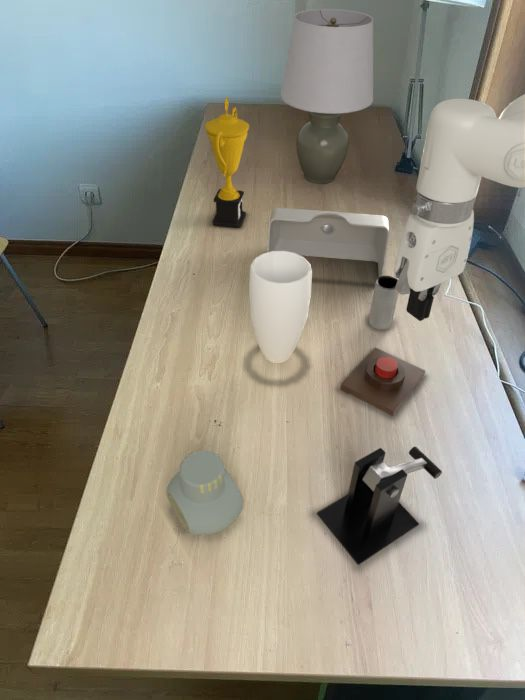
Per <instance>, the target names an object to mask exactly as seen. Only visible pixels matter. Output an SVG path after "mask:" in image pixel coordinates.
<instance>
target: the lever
mask: <svg viewBox="0 0 525 700" xmlns="http://www.w3.org/2000/svg"><path fill="white" fill-rule="evenodd" d="M408 454H409V456H410V457H411V458H412V459H413V460H409V461H406V462H403V463H400V464H396V465H394V466H393V465H392V466H388V465H387V464H386V463H385V462H384V461H383V463H380V464H376V465H373V466H370V467H369V469H368V471H367V472H366V474H365V476H364V478H363V481H364V482H365V483H366V484H367V485H368V486H369V487H370V488H371V489H372V491H374V490H375V487H376V485H377V484H378V483H380V482H382V481H383V480H385V479H387V478H388V477H390V476H392V475H393V474H395V473H397V472H398V471H400V470H402V469H403V470H404V471H405V472H406V473H407V475H408V474H411V473H415V472H417V471H420V470H425V471H426V472H427V473H428V474H429V475H430V477H432V478H433V479H438V478H439V477H440V476H442V473H443V471H442V469H440V468H439V467H438V466H437V465H436V464H435V463H434V462H433V461H432V460H431V459H430V458H429V457H427V456H426V454H424V452H423V451H421V449H419V448H418V447H417V446H413V447H411V448H410V449H409V451H408Z"/></svg>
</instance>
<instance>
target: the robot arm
mask: <svg viewBox="0 0 525 700" xmlns="http://www.w3.org/2000/svg"><path fill="white" fill-rule="evenodd" d="M482 178H484V179H486V180H487V179H488V180H491V181H493V182H495V183H498V184H502V185H505V186H508V187H512V188H518V189H525V93H523V95H521V96H519V97H516V98H515V99H514V100H512V101H511V102H510V103H509V104H508V105H506V107H505V108H504V109H503V111H502V112H501V113H500V116H499V117H497V114H496V112H495V110H494V109H493V107H492V106H490V105H489V104H487V103H485V102H482V101H479V100H476V99H470V98H452V99H451V98H450V99H445V100H442V101H440V102H438V103H437V104H436V105H435V106H434V107H433V109H432V110H431V113H430V115H429V118H428V123H427V128H426V133H425V138H424V144H423V149H422V155H421V159H420V165H419V170H418V176H417V181H416V185H415V191H414V196H413V200H412V205H411V206H410V212H411V213H409V215H408V217H407V219H406V223H405V226H404V228H403V231H402V235H401V238H400V241H399V245H398V248H397V252H396V256H395V261H394V268H393V269H394V270H393V277H394V278H396V279H398V282H397V284H396V287H395V291H397V292H398V294H400V295H401V296H403V295H409V296H408V300H407V303H406V309H405V310H406V312H407V313H408V314H409V315H410V316H411V317H414V318H415V320H417V321H419V322H422V321H424V320H425V319H428V318H430V314H431V310H432V306H433V302H434V299H435V296H436V295H437V294H438V293H439V291H440V288H441V285H442V283H445V282H447V281H449V280H451V279H453V278H456V277H458V276H459V275H461V274H463V272H464V270H465V268H466V265H467V261H468V257H469V253H470V248H471V245H472V244H471V243H472V239H473V233H474V232H473V231H474V223H475V210H474V207H475V206H474V205H475V203H476V199H477V195H478V192H479V187H480V183H481V180H482Z"/></svg>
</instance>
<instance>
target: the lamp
mask: <svg viewBox="0 0 525 700" xmlns="http://www.w3.org/2000/svg"><path fill="white" fill-rule="evenodd" d="M284 67H285V68H284V72H283V78H282V83H281V89H280V93H279V94H280V99H281V100H282V102H283V103H285V104H286V105H288V106H289V107H292V108H295V109H297V110H301V111H305V112H307V113H308V116H309V121H308V122H306V123H305V124H304V125H303V126H302V127H301V129H300V130H299V132H298V134H297V136H296V142H295V143H296V144H295V145H296V155H297V159H298V162H299V165H300V168H301V171H302V172H303V177H304V179H305V180H306V181H307V182H309V183H313V184H317V185H318V184H319V185H320V184H321V185H324V184H329V183H332V182H333V181H335V179H336V176H337V174H338V173H339V171H340V170H341V168H342V166H343V164H344V162H345V159H346V157H347V153H348V151H349V143H350V141H349V140H350V139H349V135H348V132H347V130H346V129H345V127H344V125H342V124H340V123H339V121H340V119H341V117H342V115H343V114H349V113H355V112H359V111H362V110H364V109H367V108H368V107H370V106H371V105H372V104H373V102H374V18H373V16H371V15H369V14H367V13H363V12H360V11H355V10H349V9H340V8H314V9H307V10H303V11H299V12H297V13H295V14H294V15H293V22H292V28H291V34H290V40H289V45H288V50H287V55H286V62H285V66H284Z"/></svg>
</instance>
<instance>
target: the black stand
mask: <svg viewBox="0 0 525 700" xmlns="http://www.w3.org/2000/svg"><path fill="white" fill-rule="evenodd" d="M385 457H386V451H385V450H384V449H383V448H382V447H379V448H378V449H376V450H374V451H372V452H370V453H369V454H367V455H365V456H363V457H362V458H359V459H358V460H356V461H355V462H354V464H353V469H352V475H351V480H350V483H349V489H348V493H347V494H346V495H345V496H343V497H341V498H339V499H338V500H335V501H334V502H333V503H331V504H330V505H328V506H326V507H324V508H323V509H321V510H319V511H318V512H316V515H317V516H318V517H319V519H320V520H321V521H322V522H323V524H324V525H325V526H326V527H327V529H328V530H329V531H330V533H331V534H332V535H333V536H334V537H335V539H336V540H337V541H338V543H340V545H341V546H342V547H343V549H344V550H345V551H346V552H347V554H348V555H349V556H350V557H351V558H352V560H353V561H354V562H355V563H356V565H357V566H360V565H361V564H362V563H364V562H366V561H367V560H368V559H370V558H372V557H373V556H375V555H376V554H378V553H379V552H381V551H382V550H383V549H385V548H387V547H388V546H389V545H391V544H393V543H394V542H396V541H397V540H399V539H400V538H402V537H404V535H406V534H408V533H409V532H410V531H412V530H413V529H415V528H416V527H418V526H419V525H420V523H419V522H418V521H417V520H416V519H415V518H414V517H413V516H412V515H411V513H410V512H409V511H408V510H407V509H406V508H405V507H404V506H403V505H402V504H401V503H400V499H401V496H402V493H403V491H404V488H405V484H406V481H407V478H408V474H407V473H406V472H405V471H404V470H403V469H402V470H400V471H398V472H397V473H395V474H393V475H392V476H390V477H388V478H387V479H385V480H383V481H382V482H380V483H378V484H377V485H376V487H375V490H374V491H372V489H371V488H370V487H369V486H368V485H367V484H366V483H365V482H364V481H363V478H364V476H365V474H366V472H367V471H368V469H369V467H370V466H373V465H376V464H380V463H383V462H384V461H385Z"/></svg>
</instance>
